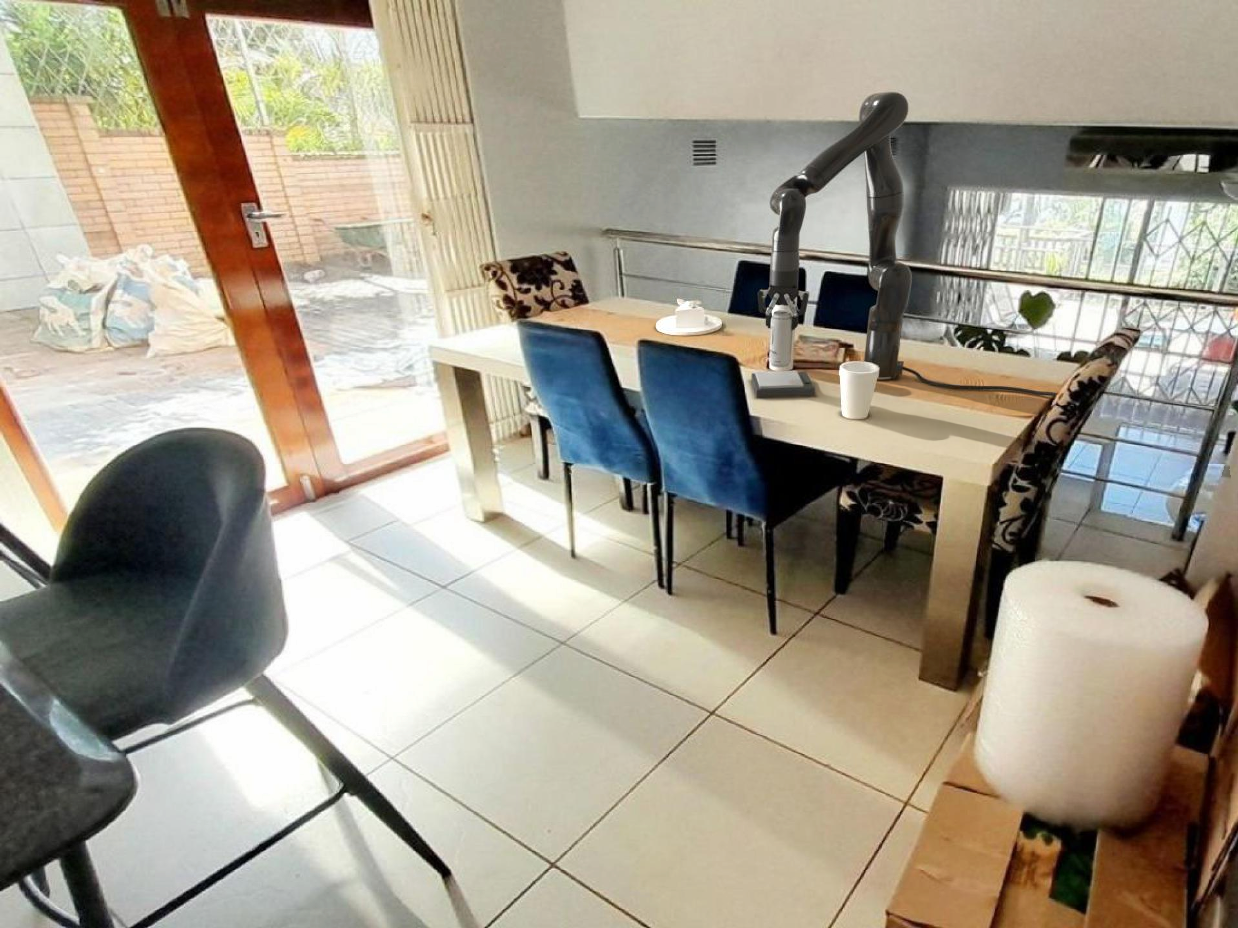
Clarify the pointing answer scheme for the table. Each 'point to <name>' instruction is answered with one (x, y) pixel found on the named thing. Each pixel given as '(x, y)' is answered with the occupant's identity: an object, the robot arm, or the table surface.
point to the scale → (782, 384)
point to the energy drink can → (780, 339)
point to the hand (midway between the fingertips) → (781, 328)
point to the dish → (689, 320)
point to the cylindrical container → (790, 366)
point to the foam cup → (857, 388)
